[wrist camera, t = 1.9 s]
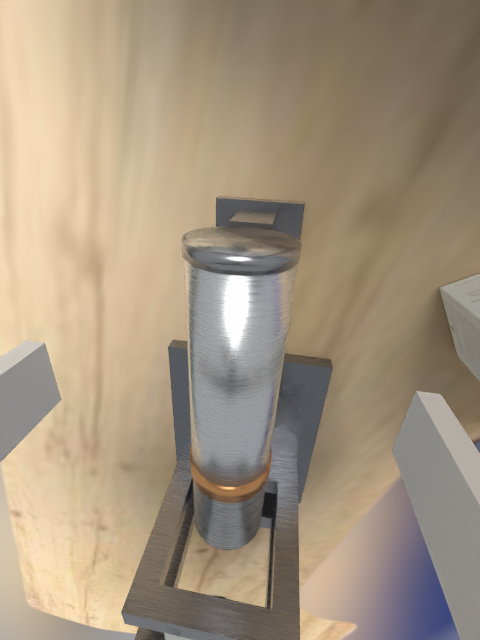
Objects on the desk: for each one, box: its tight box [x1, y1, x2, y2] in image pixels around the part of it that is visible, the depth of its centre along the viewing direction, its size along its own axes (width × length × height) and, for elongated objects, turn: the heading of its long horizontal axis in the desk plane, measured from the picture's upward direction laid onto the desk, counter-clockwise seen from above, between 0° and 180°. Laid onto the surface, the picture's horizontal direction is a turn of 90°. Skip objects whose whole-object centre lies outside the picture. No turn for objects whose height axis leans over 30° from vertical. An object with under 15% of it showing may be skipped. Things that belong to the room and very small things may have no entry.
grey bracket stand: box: [121, 340, 332, 640], centre depth 21 cm, size 16×12×13 cm
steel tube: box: [182, 227, 301, 550], centre depth 16 cm, size 18×5×5 cm, turn 177°
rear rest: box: [216, 196, 304, 240], centre depth 16 cm, size 2×5×5 cm, turn 87°
